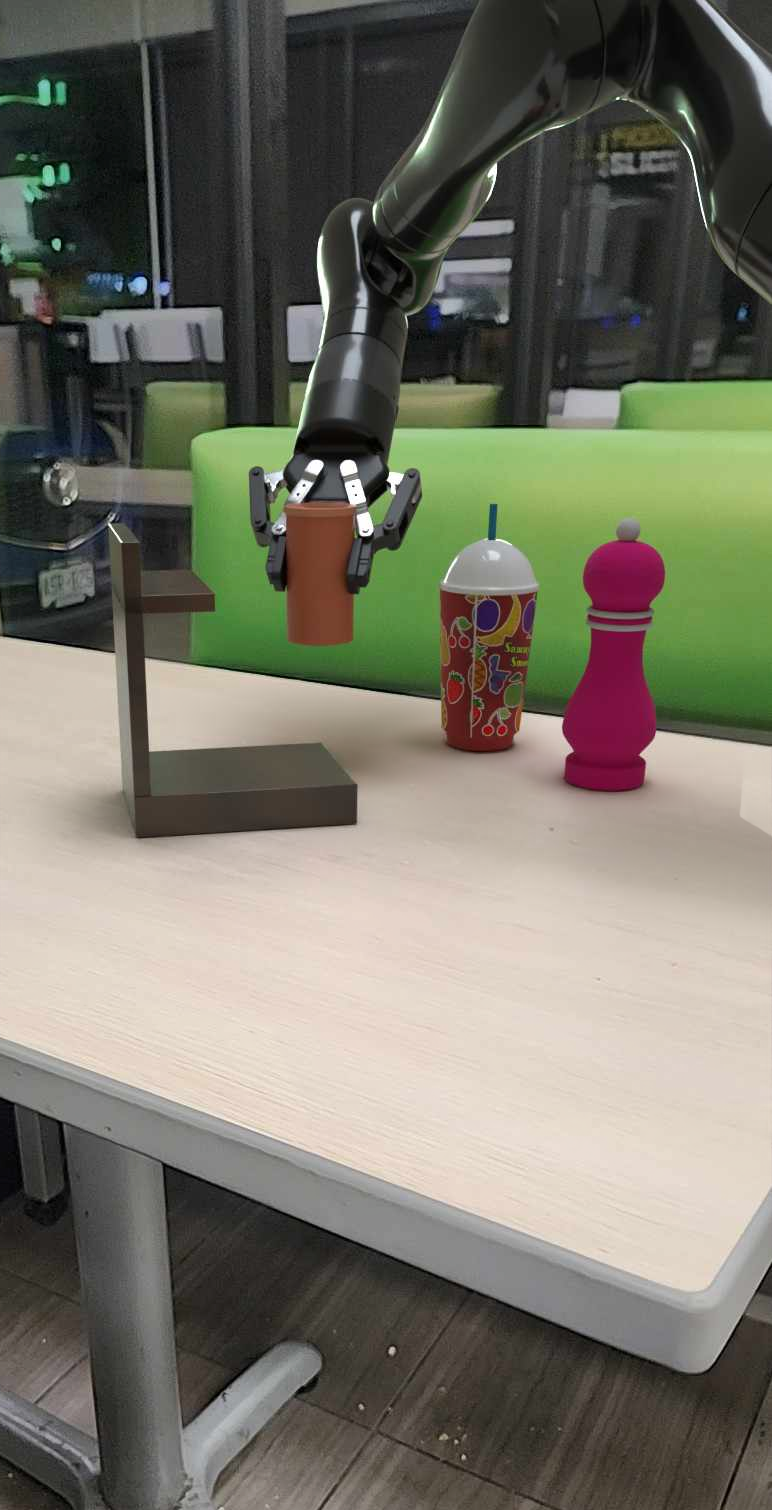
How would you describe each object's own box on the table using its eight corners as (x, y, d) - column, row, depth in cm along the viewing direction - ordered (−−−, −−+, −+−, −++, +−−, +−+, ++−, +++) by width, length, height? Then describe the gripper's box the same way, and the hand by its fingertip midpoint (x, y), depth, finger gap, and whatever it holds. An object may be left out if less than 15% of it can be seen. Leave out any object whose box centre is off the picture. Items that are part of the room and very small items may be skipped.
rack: (321, 778, 107) (323, 518, 99) (357, 824, 96) (362, 535, 88) (122, 790, 104) (108, 523, 96) (136, 838, 93) (121, 542, 85)
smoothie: (524, 758, 112) (543, 509, 104) (426, 753, 114) (437, 507, 106) (530, 734, 120) (547, 500, 111) (437, 729, 121) (448, 499, 113)
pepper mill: (646, 797, 102) (676, 524, 94) (551, 788, 104) (573, 521, 96) (653, 772, 108) (683, 514, 100) (564, 764, 110) (585, 512, 102)
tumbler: (345, 632, 107) (347, 501, 103) (361, 644, 102) (364, 507, 98) (279, 635, 106) (278, 503, 102) (292, 647, 101) (292, 509, 97)
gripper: (253, 375, 104) (212, 552, 99) (435, 374, 101) (403, 557, 95) (271, 444, 111) (234, 613, 105) (442, 445, 108) (413, 620, 102)
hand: (315, 585), depth 100 cm, fingers closed on tumbler, 5 cm apart
